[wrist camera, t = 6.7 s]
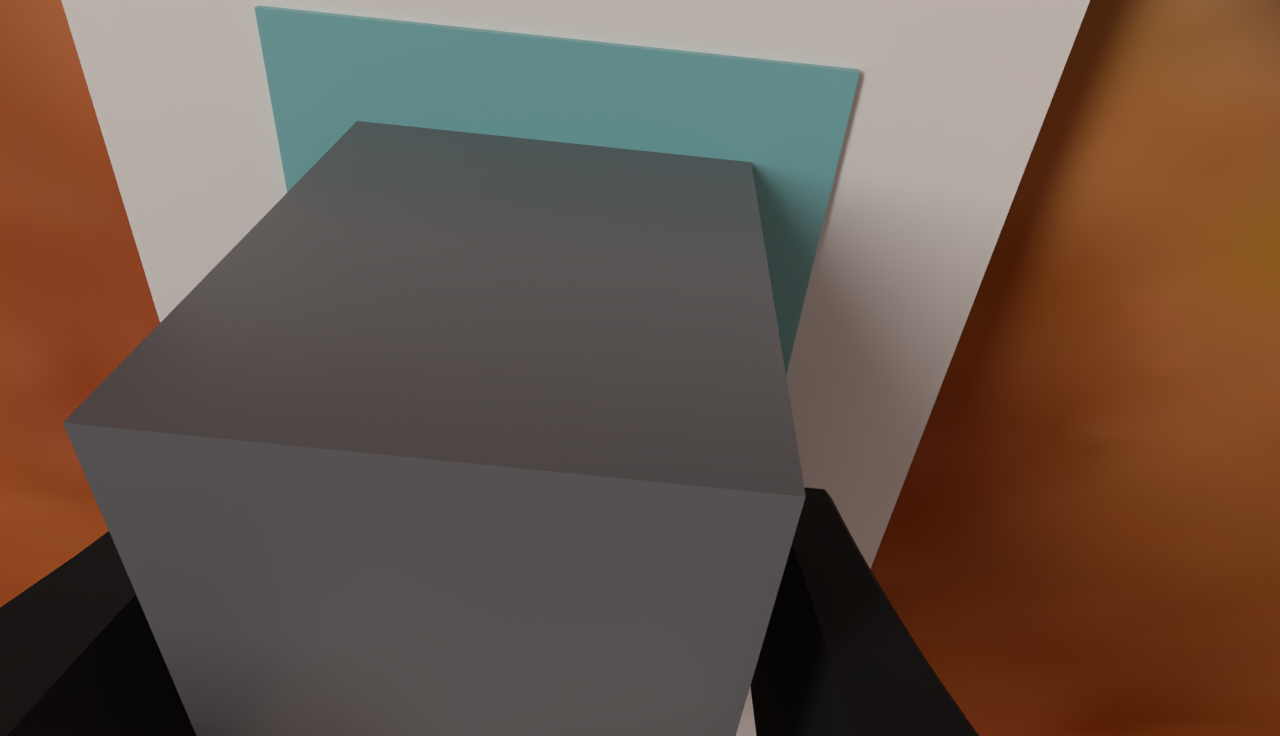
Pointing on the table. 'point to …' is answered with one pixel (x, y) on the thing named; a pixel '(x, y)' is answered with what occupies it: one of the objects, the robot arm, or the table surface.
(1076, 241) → the table surface
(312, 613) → the block
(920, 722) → the robot arm
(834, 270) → the pin board
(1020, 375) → the table surface
